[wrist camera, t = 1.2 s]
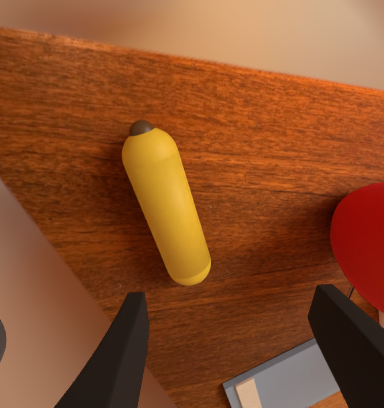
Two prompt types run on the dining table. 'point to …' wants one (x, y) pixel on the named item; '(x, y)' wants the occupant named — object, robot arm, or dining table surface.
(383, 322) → the teapot
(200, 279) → the banana
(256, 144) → the dining table surface
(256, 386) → the grey flat rectangular block
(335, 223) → the tomato
